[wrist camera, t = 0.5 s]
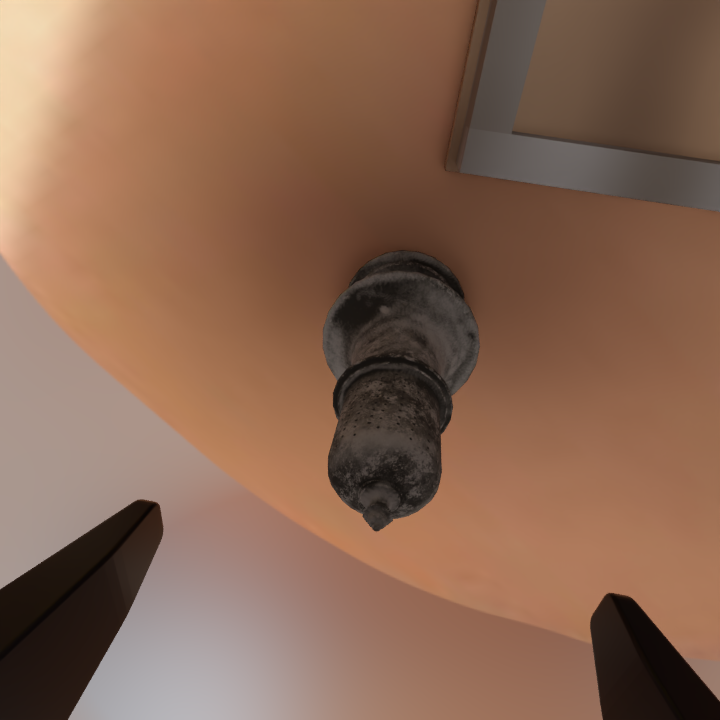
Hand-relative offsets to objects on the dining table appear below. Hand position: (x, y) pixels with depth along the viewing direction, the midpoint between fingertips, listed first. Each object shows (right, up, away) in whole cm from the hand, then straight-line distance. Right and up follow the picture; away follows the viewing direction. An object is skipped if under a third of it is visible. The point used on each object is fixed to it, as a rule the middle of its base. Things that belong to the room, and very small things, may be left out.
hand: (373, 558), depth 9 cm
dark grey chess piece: (+2, +6, +11) cm, 13 cm away
